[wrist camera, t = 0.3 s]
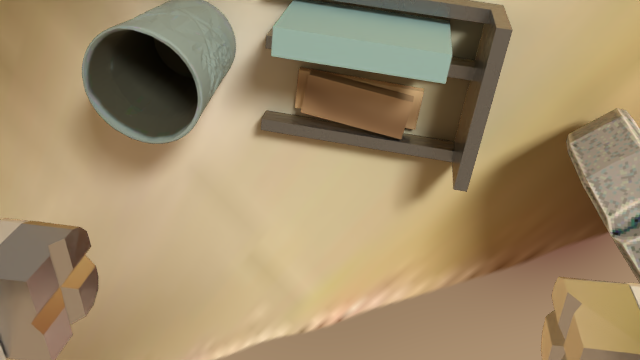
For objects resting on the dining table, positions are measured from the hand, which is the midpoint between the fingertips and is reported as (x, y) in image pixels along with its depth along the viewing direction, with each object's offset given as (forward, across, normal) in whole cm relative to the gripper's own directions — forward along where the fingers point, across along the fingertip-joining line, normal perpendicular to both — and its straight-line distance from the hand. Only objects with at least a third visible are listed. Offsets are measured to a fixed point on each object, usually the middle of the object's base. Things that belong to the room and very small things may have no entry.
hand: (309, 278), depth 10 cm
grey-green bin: (+46, +20, +12) cm, 52 cm away
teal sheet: (+46, +3, +9) cm, 47 cm away
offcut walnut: (+45, +3, +16) cm, 48 cm away
